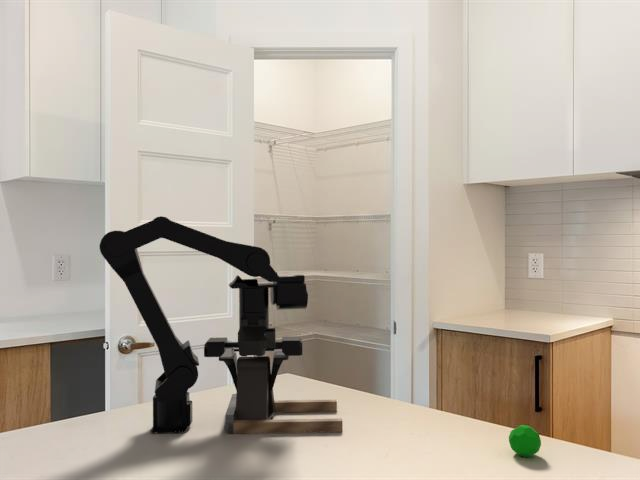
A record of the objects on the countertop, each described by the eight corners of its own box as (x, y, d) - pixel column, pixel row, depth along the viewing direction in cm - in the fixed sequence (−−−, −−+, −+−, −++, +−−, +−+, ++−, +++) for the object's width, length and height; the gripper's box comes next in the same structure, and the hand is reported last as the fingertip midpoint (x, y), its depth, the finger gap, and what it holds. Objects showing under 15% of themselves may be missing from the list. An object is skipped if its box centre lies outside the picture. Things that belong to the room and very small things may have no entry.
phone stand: (246, 411, 119) (244, 352, 118) (275, 411, 118) (273, 352, 118) (234, 426, 110) (232, 362, 110) (266, 426, 109) (263, 362, 109)
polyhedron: (547, 457, 95) (547, 428, 95) (527, 463, 93) (527, 433, 93) (522, 447, 100) (522, 419, 100) (502, 453, 97) (502, 424, 97)
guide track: (228, 433, 106) (227, 423, 106) (235, 410, 120) (235, 401, 120) (342, 431, 108) (342, 420, 108) (336, 409, 122) (336, 399, 122)
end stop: (225, 434, 106) (225, 414, 106) (232, 410, 120) (232, 393, 120) (233, 433, 107) (233, 414, 107) (239, 410, 121) (239, 393, 120)
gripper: (199, 317, 105) (199, 403, 105) (302, 316, 106) (303, 401, 106) (207, 309, 116) (208, 387, 116) (301, 308, 117) (301, 385, 117)
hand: (254, 390), depth 114 cm, fingers closed on phone stand, 6 cm apart
